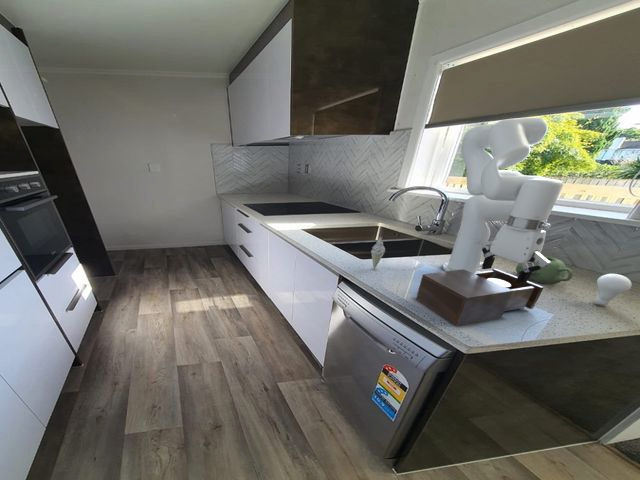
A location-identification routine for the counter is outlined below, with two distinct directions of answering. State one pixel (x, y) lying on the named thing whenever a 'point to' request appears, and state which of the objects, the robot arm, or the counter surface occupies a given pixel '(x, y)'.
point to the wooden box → (463, 296)
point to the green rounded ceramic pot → (549, 272)
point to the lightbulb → (611, 287)
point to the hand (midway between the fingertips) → (502, 275)
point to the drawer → (516, 289)
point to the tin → (500, 282)
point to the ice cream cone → (377, 252)
